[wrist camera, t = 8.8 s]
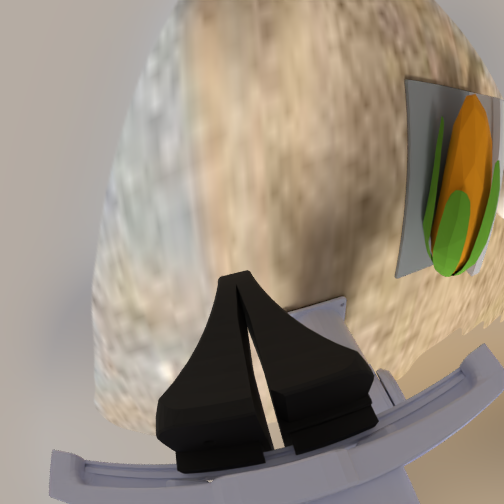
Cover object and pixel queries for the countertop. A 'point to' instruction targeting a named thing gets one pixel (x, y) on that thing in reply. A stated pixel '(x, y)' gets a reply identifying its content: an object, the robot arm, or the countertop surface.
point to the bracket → (422, 161)
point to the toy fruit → (462, 193)
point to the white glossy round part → (501, 201)
